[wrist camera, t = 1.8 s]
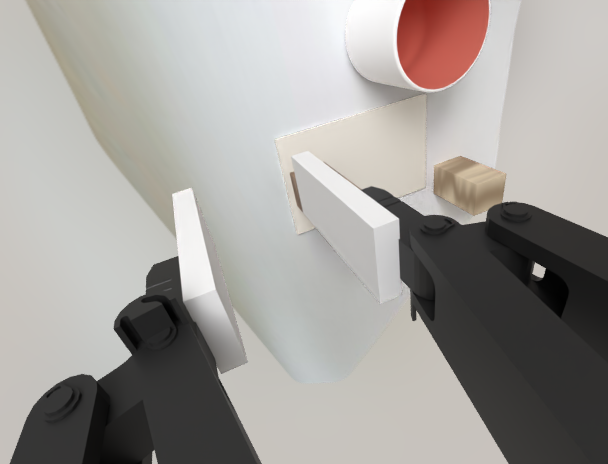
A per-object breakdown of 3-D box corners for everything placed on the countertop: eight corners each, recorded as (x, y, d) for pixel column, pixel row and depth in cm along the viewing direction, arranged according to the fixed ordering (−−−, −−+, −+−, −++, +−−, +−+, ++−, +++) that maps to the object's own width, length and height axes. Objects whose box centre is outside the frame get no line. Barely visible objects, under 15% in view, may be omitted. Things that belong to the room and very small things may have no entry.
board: (274, 139, 39) (275, 140, 38) (424, 93, 43) (426, 93, 42) (296, 233, 46) (297, 234, 45) (423, 186, 50) (425, 187, 49)
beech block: (434, 165, 49) (477, 184, 42) (460, 156, 50) (506, 173, 43) (433, 193, 51) (473, 215, 45) (458, 183, 52) (501, 204, 46)
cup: (435, 9, 38) (511, 1, 30) (391, 96, 41) (448, 110, 33) (369, -48, 33) (438, -76, 25) (324, 55, 36) (372, 60, 28)
